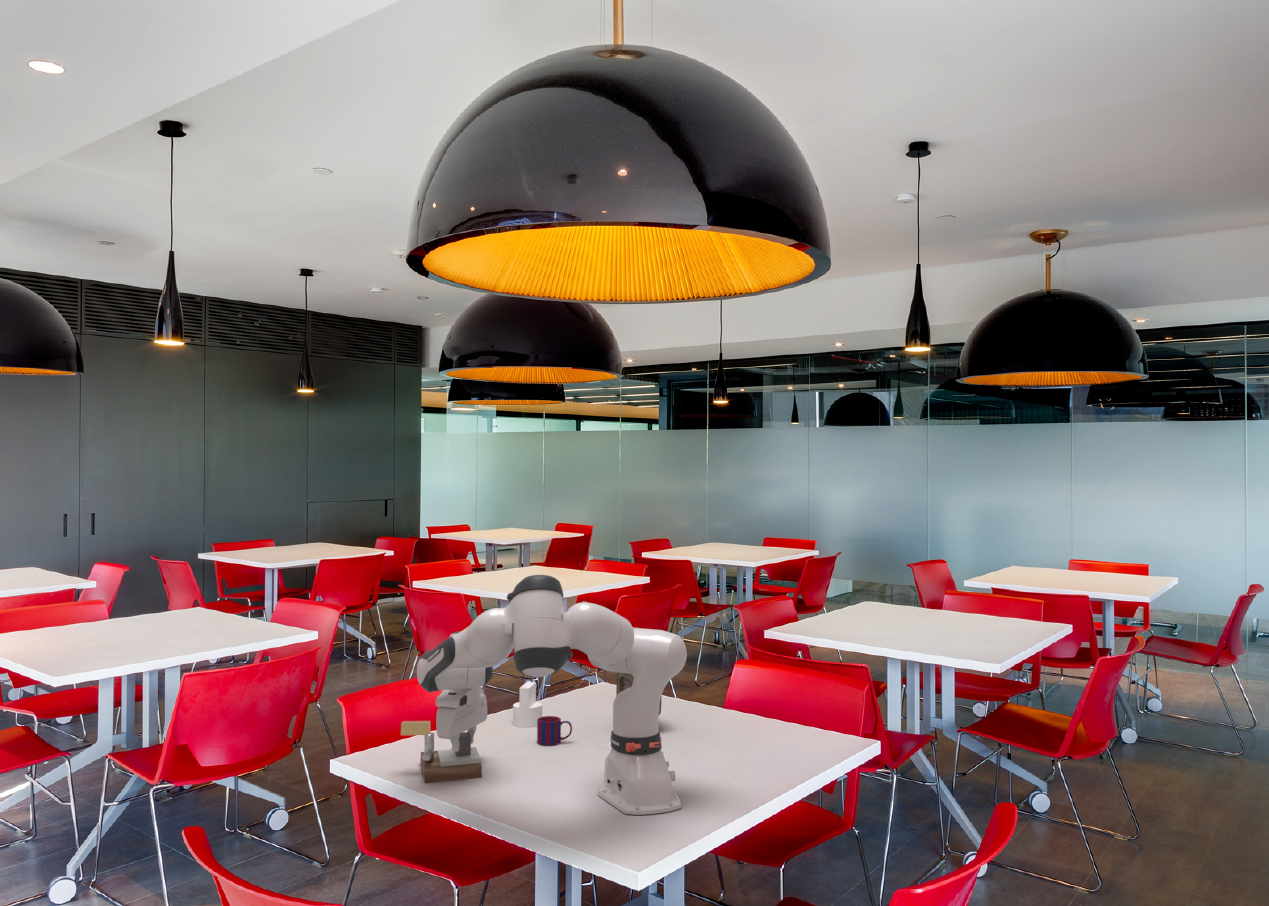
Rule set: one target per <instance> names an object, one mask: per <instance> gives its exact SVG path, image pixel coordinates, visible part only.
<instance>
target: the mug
mask: <svg viewBox="0 0 1269 906" xmlns="http://www.w3.org/2000/svg"><path fill="white" fill-rule="evenodd" d="M563 724H568V726H569V733H568V734H567V735H566V736H561V735H562V732H561V731H562V729H561V728H562V725H563ZM536 729H537V731H536V733H537V734H536V735H537V736H536V737H537V738H536V743H537V745H538V746H543V747H555V746H558V745H560V744H561V741H562V740H566V739H568V738H569V737H570V736H571V735H572V731H573V726H572V723H571V722H570V721H569V720H563V721H562V720H561V717H559V716H554V715H546V716H545V715H544V716H542V717H540V718H538V719H537V727H536Z"/></svg>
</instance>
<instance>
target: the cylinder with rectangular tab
mask: <svg viewBox="0 0 1269 906" xmlns="http://www.w3.org/2000/svg"><path fill="white" fill-rule="evenodd" d="M518 700H519V701H517V702H515V703H513V705H512V725H513V727H516V728H520V729H521V728H522V729H531V728H537V719H538V718H540V717H543V703H541V702H539V701H537V682H535V681H526V682H525V683H524V684H523V685H522V686H520V687H519V698H518Z"/></svg>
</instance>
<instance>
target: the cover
mask: <svg viewBox="0 0 1269 906" xmlns="http://www.w3.org/2000/svg"><path fill="white" fill-rule="evenodd" d="M458 739H459V743H461V750H459V751H457V752H455V751H452V748H450V749H440V750H436V751H437V756H438V759H439V762H440V766H441V767H443V766H454V765H465V764H476V763H481V764H482V761H481V760H482V757H481V755H480V753H479V751H478V749H477V747H476V746H475V747H474V746H473V747H471V746H472V744H471V735H470V733H469V732H467V731H464V732H462V733H460V737H459V738H458Z"/></svg>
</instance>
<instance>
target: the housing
mask: <svg viewBox="0 0 1269 906" xmlns="http://www.w3.org/2000/svg"><path fill="white" fill-rule="evenodd" d="M423 756H424V751H420V768H421V772H422V777H423V781H424V784H426V783H427V784H429V783H430V784H431V783H439V782H448V781H450V782H451V781H458V780H459V781H460V780H461V781H462V780H469V779H479V778H482V775H483V772H482V771H483V765H482V762H481V763H476V764H465V765H454V766H443V767H441V766H440V762H439V759H438V756H437V750H434V761H432V762H425V761H423Z"/></svg>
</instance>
